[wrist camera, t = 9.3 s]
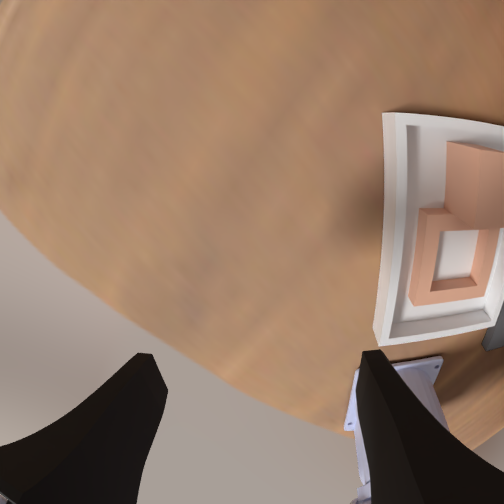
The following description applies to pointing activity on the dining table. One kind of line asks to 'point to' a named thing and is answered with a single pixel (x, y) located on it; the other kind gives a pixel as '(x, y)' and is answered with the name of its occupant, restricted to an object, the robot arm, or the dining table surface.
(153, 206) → the dining table surface
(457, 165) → the ring
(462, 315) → the tray
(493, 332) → the grey plate with knob
